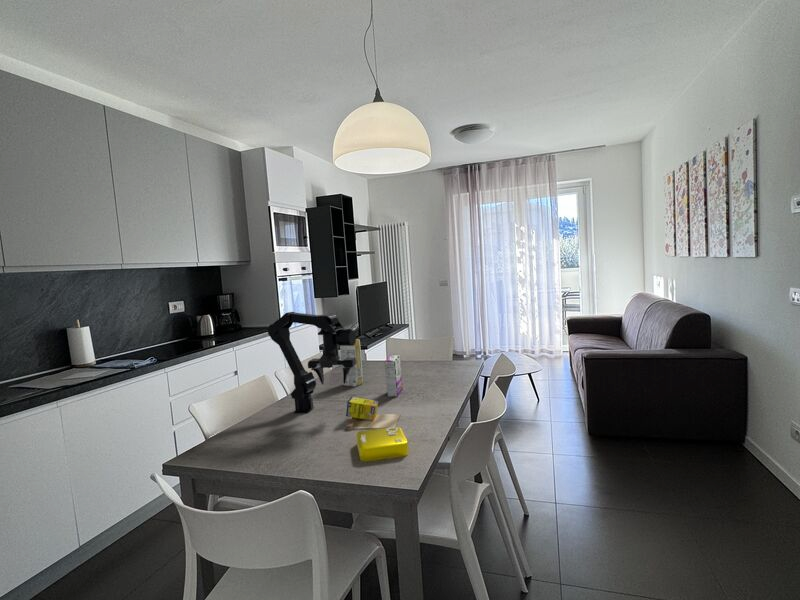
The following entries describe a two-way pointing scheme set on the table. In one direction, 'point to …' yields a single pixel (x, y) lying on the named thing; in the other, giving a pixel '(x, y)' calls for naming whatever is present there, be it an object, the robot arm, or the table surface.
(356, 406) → the supplement box
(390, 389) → the candy bar box
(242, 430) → the table surface
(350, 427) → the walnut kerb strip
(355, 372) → the juice carton
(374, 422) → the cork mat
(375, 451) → the yellow flat block
